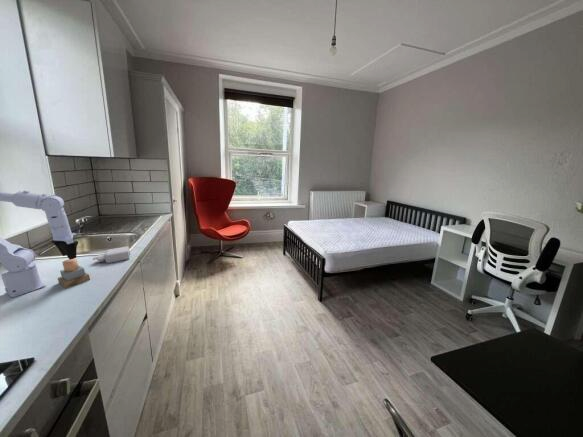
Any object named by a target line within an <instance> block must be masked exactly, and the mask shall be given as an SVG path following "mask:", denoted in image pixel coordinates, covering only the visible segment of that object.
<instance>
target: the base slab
mask: <svg viewBox="0 0 583 437" xmlns="http://www.w3.org/2000/svg"><path fill="white" fill-rule="evenodd" d="M85 274H86V275H83V276H81V277H78V278H75V279H72V280H69V281H67V280H65V279H64V278H62V276H60V277H57V281H58V284H59V285H60V286H62V287H63V288H65V289H68V288H71V287H73V286H77V285H80V284H82V283H85V282H89V281H91V278H90V274H89V273H87V272H85Z"/></svg>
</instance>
